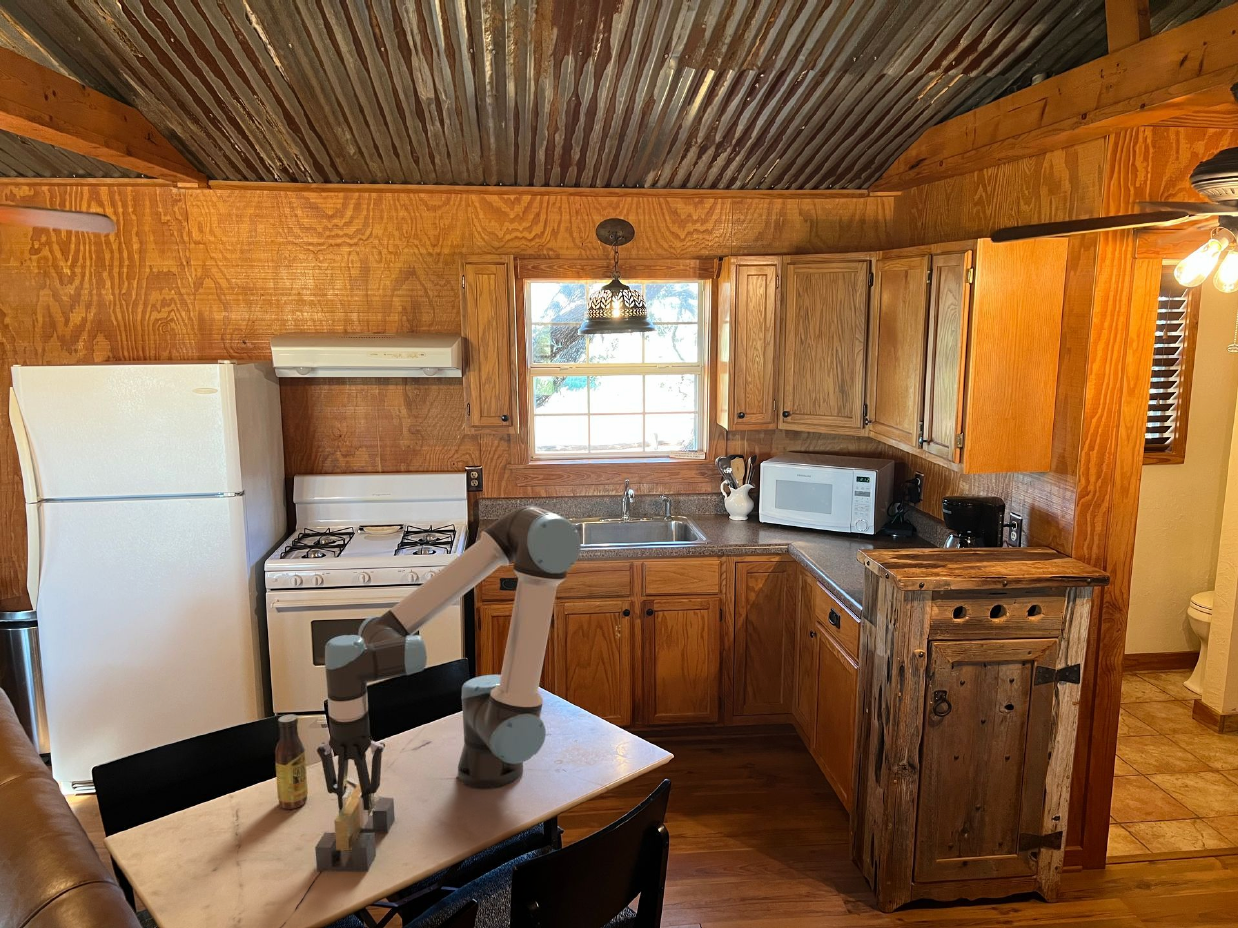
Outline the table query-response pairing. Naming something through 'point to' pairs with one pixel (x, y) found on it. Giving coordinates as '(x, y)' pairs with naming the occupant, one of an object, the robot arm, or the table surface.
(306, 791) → the sauce bottle
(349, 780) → the fork
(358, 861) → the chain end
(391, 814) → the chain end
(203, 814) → the table surface
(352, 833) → the link bar
